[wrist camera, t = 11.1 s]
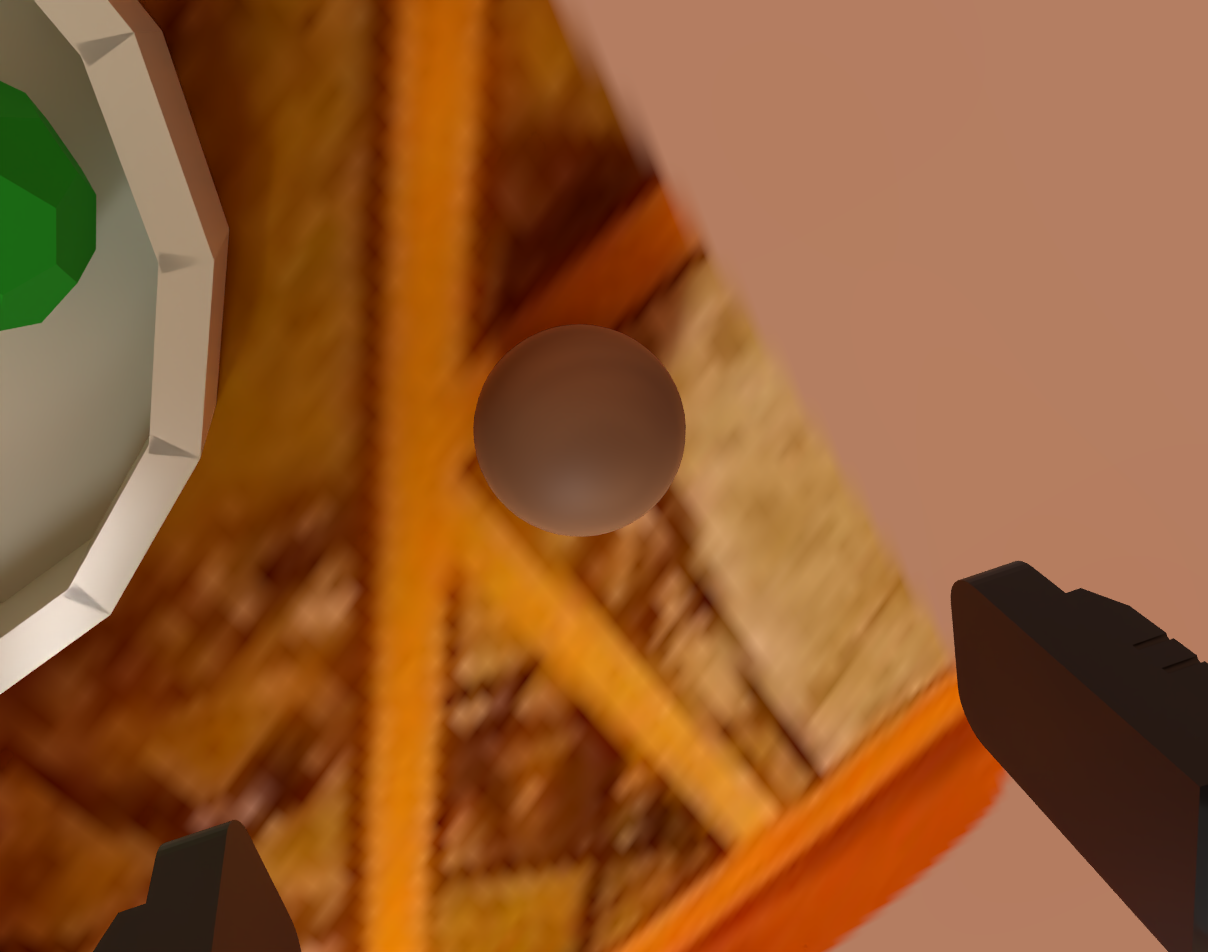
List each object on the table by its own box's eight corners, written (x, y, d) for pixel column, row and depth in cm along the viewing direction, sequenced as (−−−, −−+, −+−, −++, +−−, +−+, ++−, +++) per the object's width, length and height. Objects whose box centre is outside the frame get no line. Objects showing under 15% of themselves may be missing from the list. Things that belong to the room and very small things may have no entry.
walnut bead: (665, 458, 28) (728, 539, 24) (487, 507, 28) (517, 600, 23) (635, 280, 26) (697, 333, 22) (440, 328, 26) (464, 393, 21)
